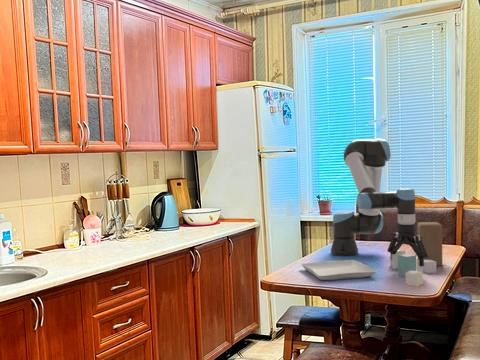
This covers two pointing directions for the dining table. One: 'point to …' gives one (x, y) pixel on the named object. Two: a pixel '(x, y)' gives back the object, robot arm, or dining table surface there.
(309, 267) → the square plate
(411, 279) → the cream cube
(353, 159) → the robot arm
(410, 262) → the teal block
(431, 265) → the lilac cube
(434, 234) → the block
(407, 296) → the dining table surface
